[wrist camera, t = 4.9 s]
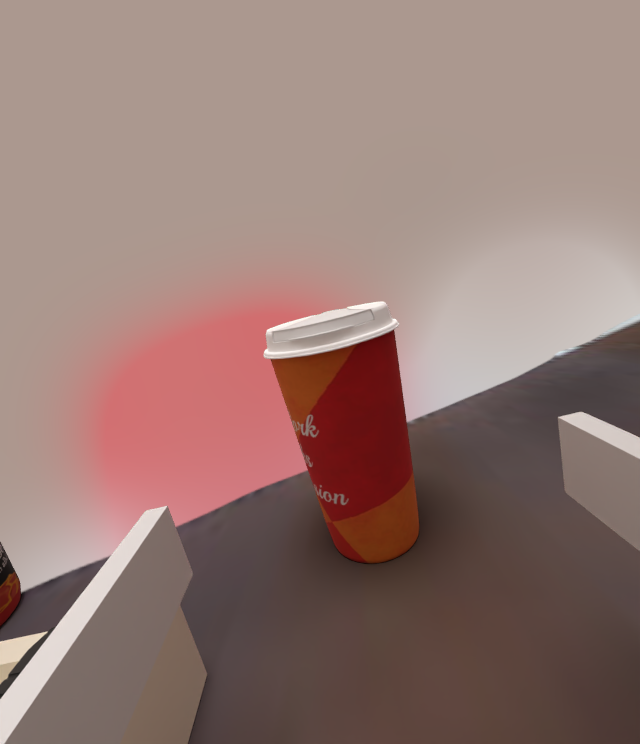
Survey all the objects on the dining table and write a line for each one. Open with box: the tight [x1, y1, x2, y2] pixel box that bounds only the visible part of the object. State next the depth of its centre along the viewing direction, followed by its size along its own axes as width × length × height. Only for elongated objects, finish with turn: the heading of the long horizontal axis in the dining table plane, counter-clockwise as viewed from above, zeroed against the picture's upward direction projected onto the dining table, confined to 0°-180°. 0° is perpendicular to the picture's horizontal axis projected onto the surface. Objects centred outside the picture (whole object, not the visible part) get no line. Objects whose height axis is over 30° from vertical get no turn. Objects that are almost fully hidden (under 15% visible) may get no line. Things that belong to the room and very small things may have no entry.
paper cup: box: [264, 302, 419, 563], centre depth 21 cm, size 8×8×14 cm
